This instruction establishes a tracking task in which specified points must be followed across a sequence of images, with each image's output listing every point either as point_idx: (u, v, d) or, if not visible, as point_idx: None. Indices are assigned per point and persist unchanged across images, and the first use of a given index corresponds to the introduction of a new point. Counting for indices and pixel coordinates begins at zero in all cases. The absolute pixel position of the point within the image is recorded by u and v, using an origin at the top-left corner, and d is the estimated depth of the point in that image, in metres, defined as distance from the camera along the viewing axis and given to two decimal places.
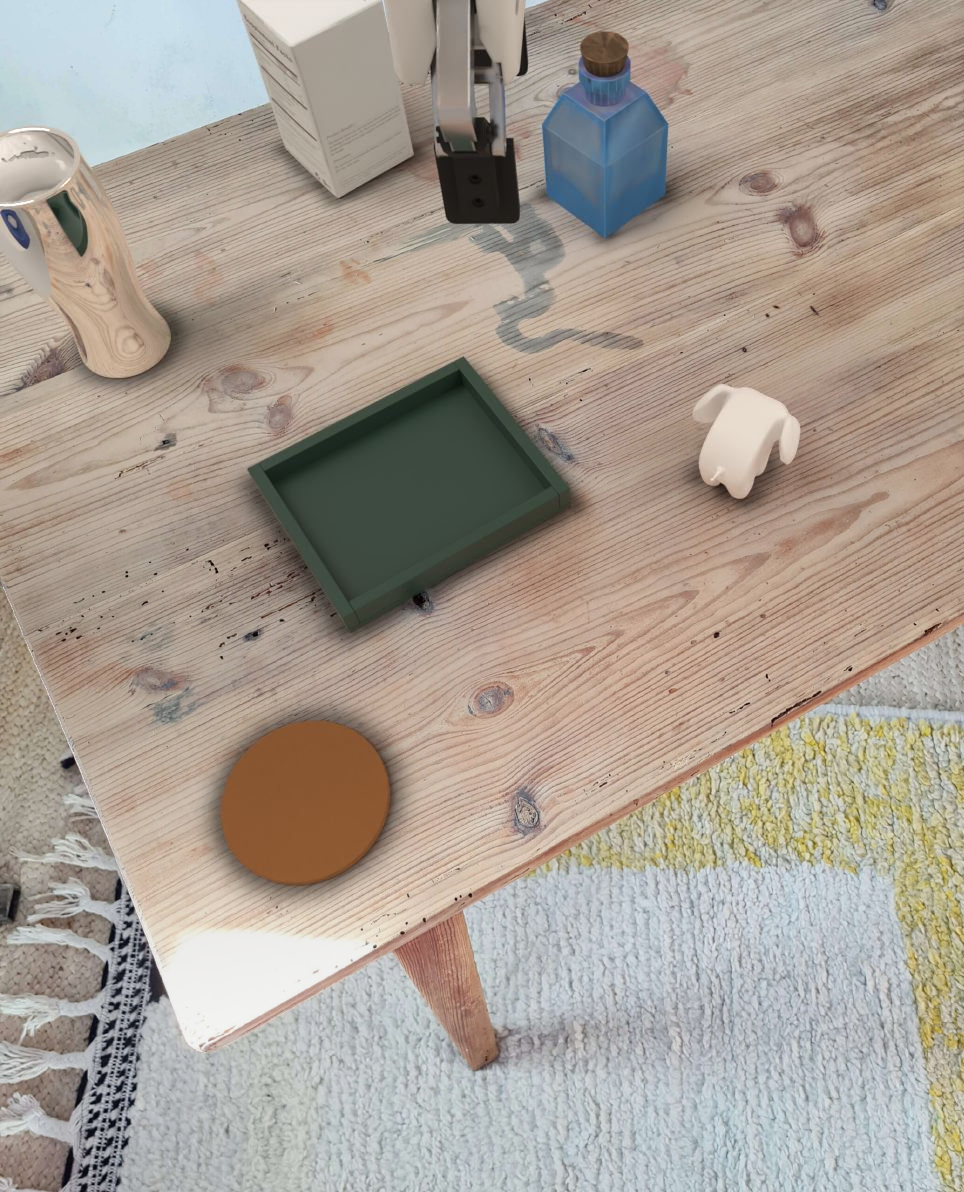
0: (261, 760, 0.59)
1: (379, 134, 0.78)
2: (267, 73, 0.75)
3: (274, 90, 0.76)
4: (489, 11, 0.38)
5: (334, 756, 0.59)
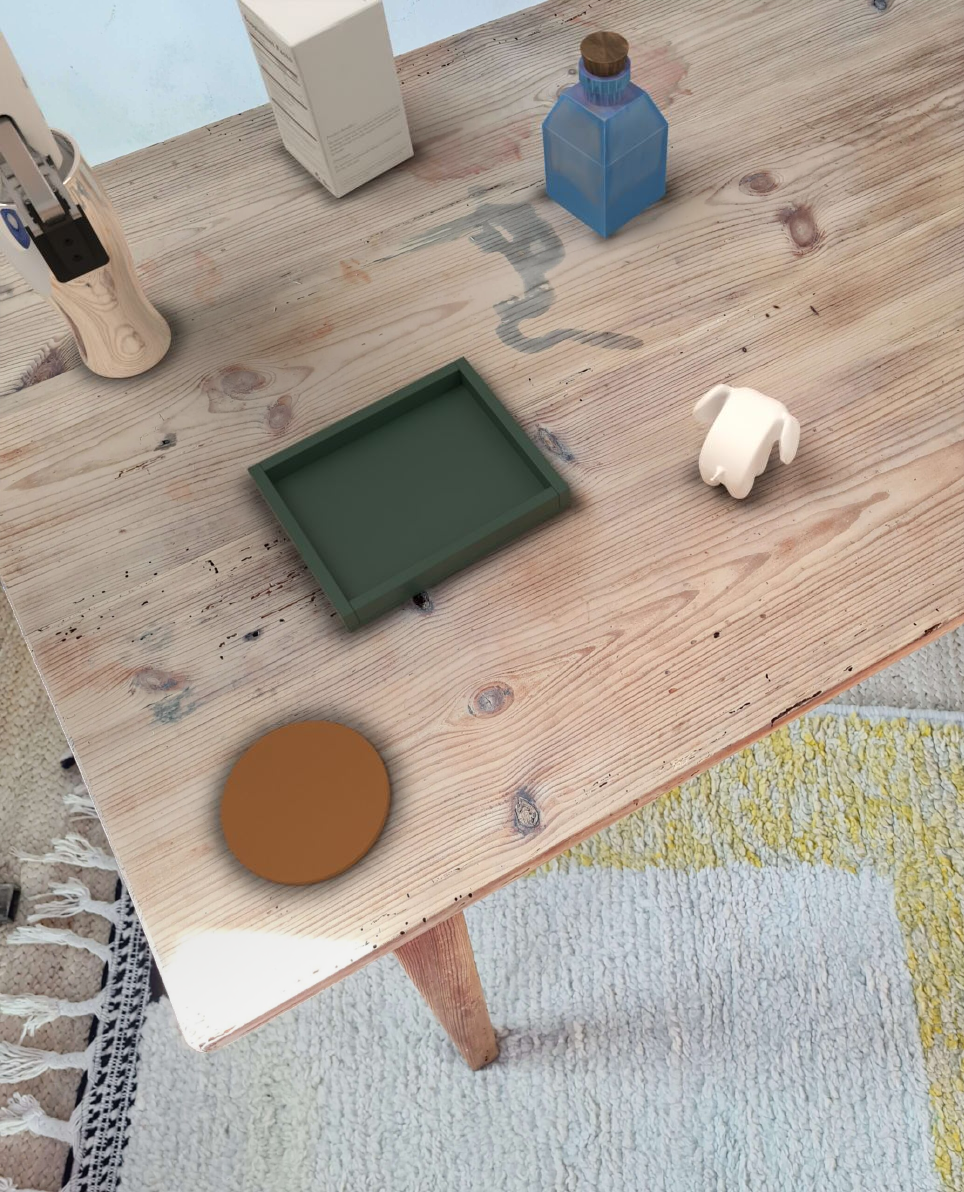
0: (261, 760, 0.59)
1: (379, 134, 0.78)
2: (267, 73, 0.75)
3: (274, 90, 0.76)
4: (26, 123, 0.54)
5: (334, 756, 0.59)
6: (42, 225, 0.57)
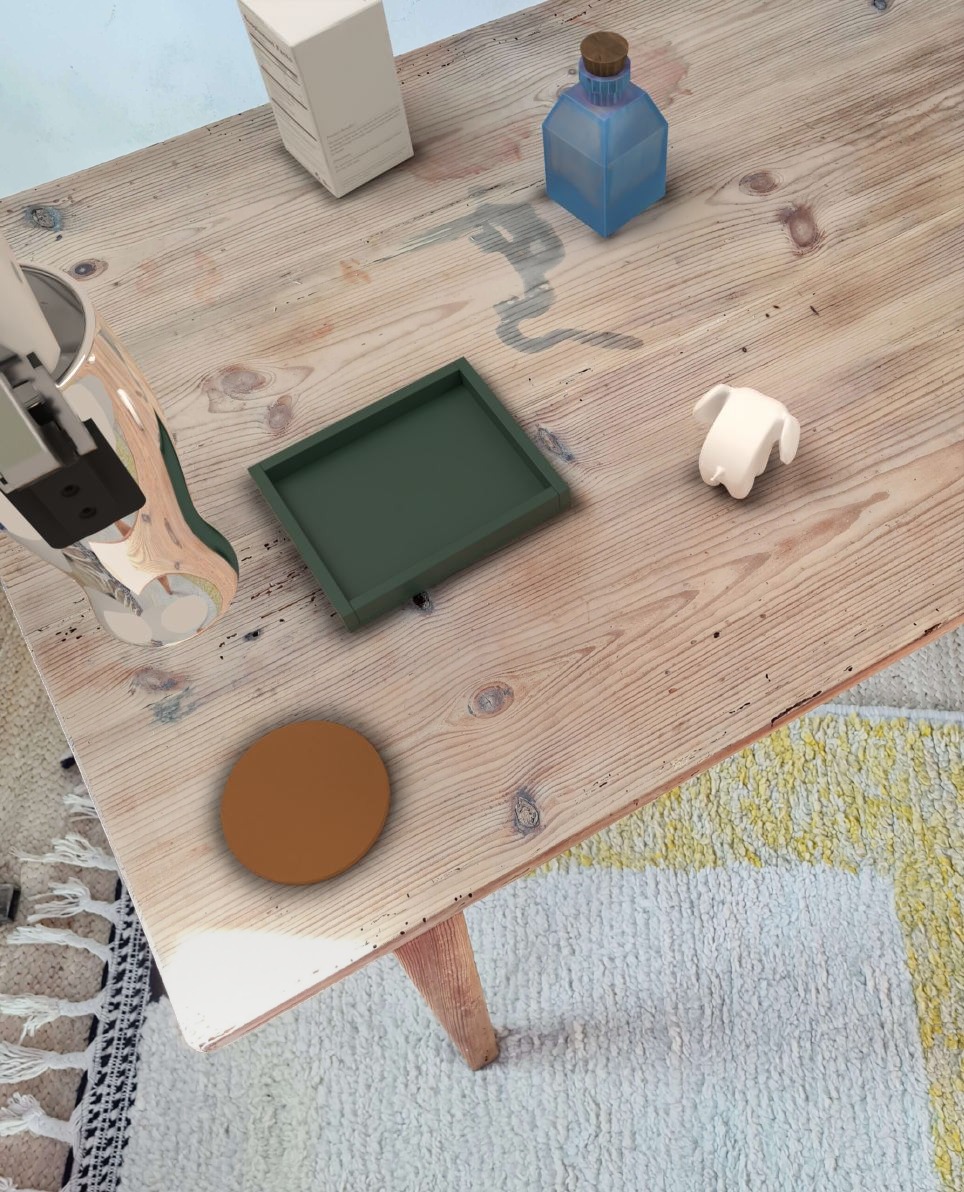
0: (261, 760, 0.59)
1: (379, 134, 0.78)
2: (267, 73, 0.75)
3: (274, 90, 0.76)
4: None
5: (334, 756, 0.59)
6: (20, 488, 0.28)
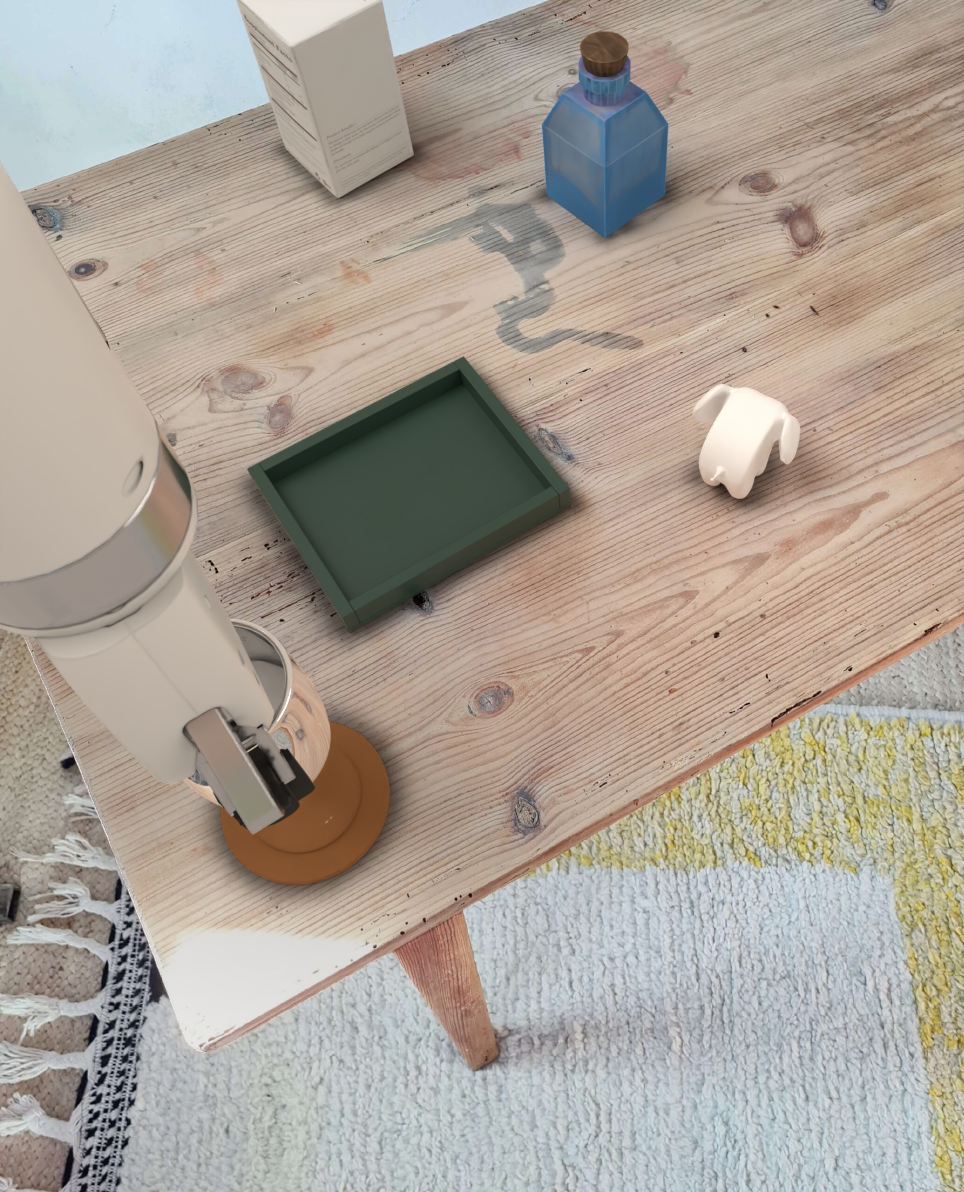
0: None
1: (379, 134, 0.78)
2: (267, 73, 0.75)
3: (274, 90, 0.76)
4: (239, 706, 0.37)
5: None
6: None
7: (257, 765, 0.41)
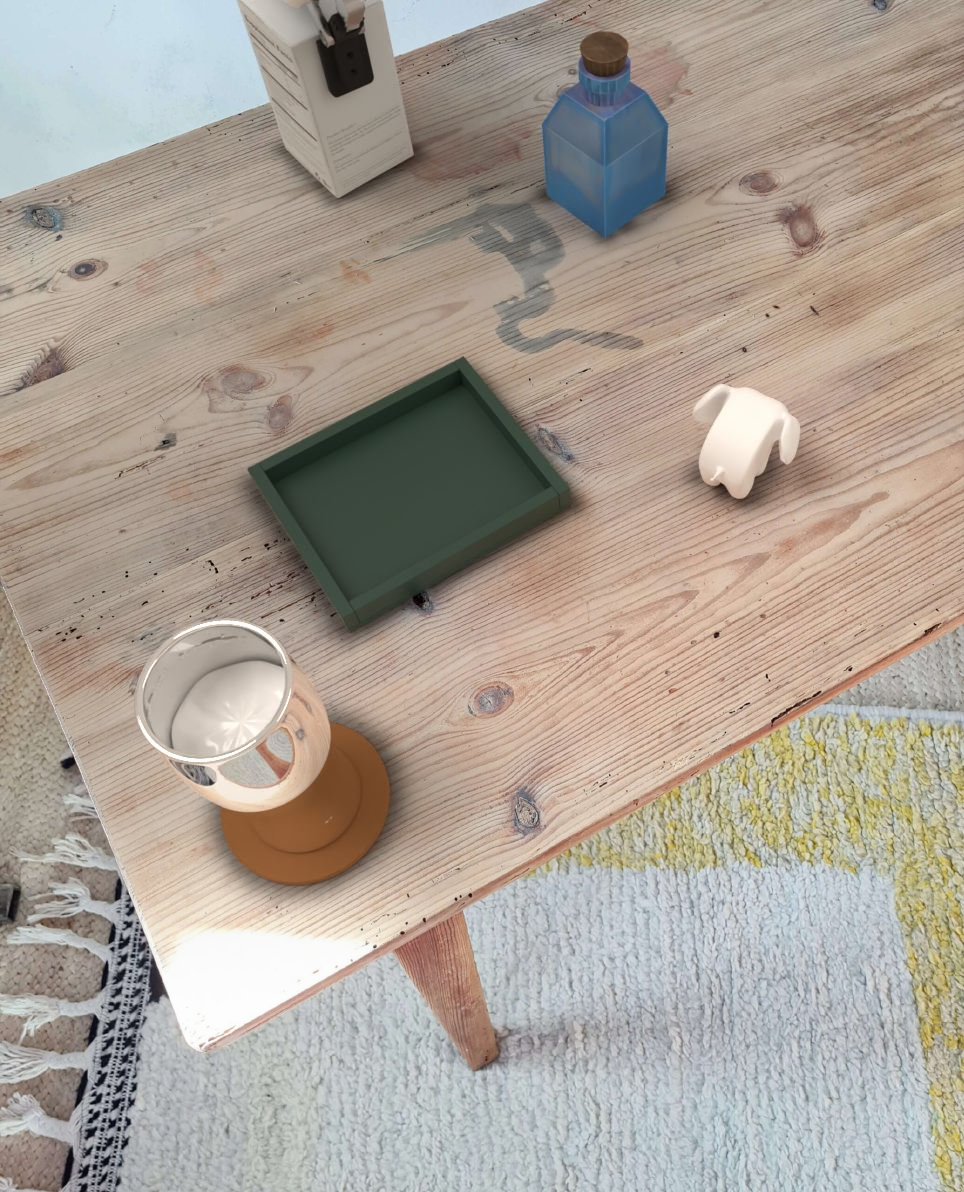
0: None
1: (379, 134, 0.78)
2: (267, 73, 0.75)
3: (274, 90, 0.76)
4: None
5: None
6: (342, 32, 0.67)
7: None
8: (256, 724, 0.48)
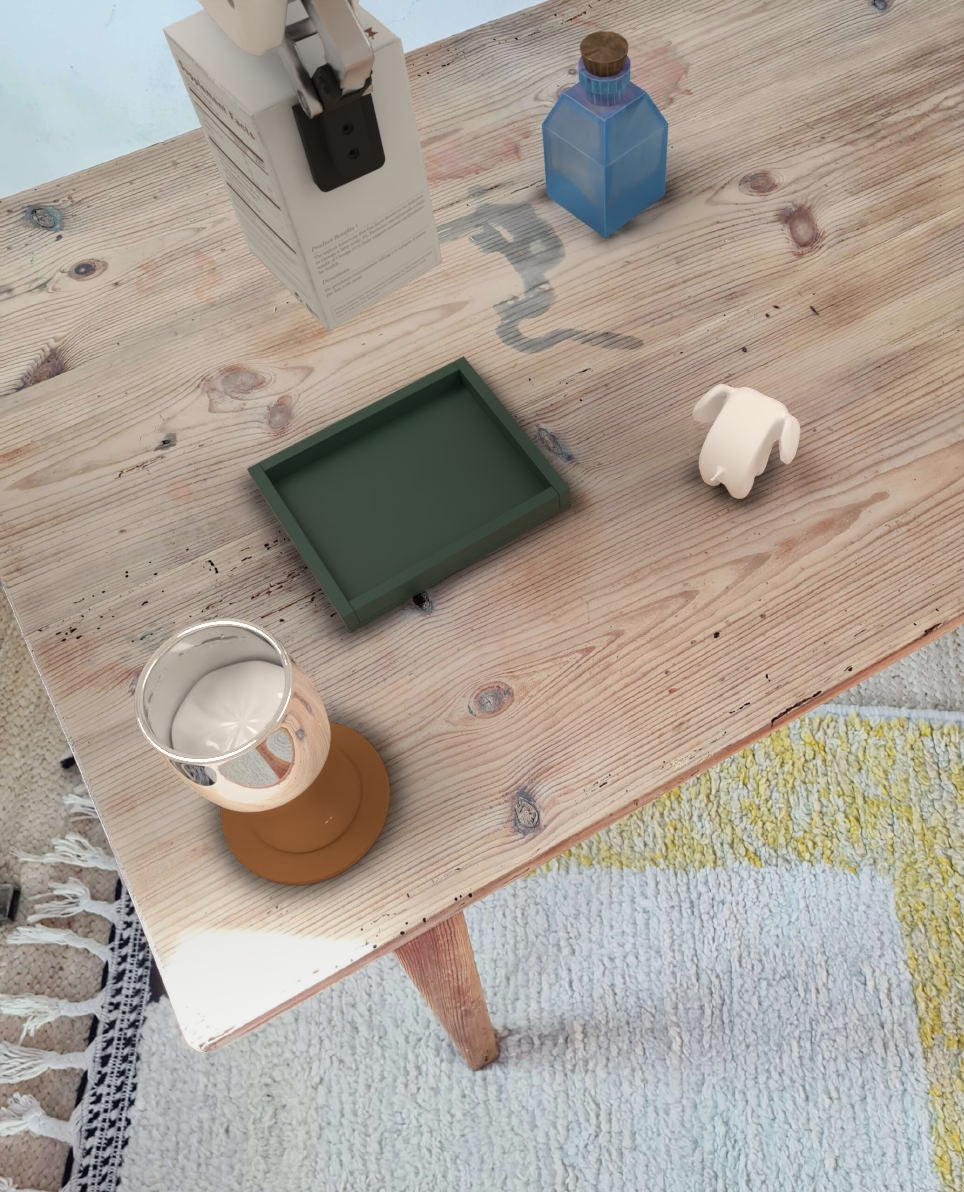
0: None
1: (392, 238, 0.51)
2: (218, 148, 0.48)
3: (230, 173, 0.49)
4: None
5: None
6: (336, 95, 0.40)
7: None
8: (256, 724, 0.48)
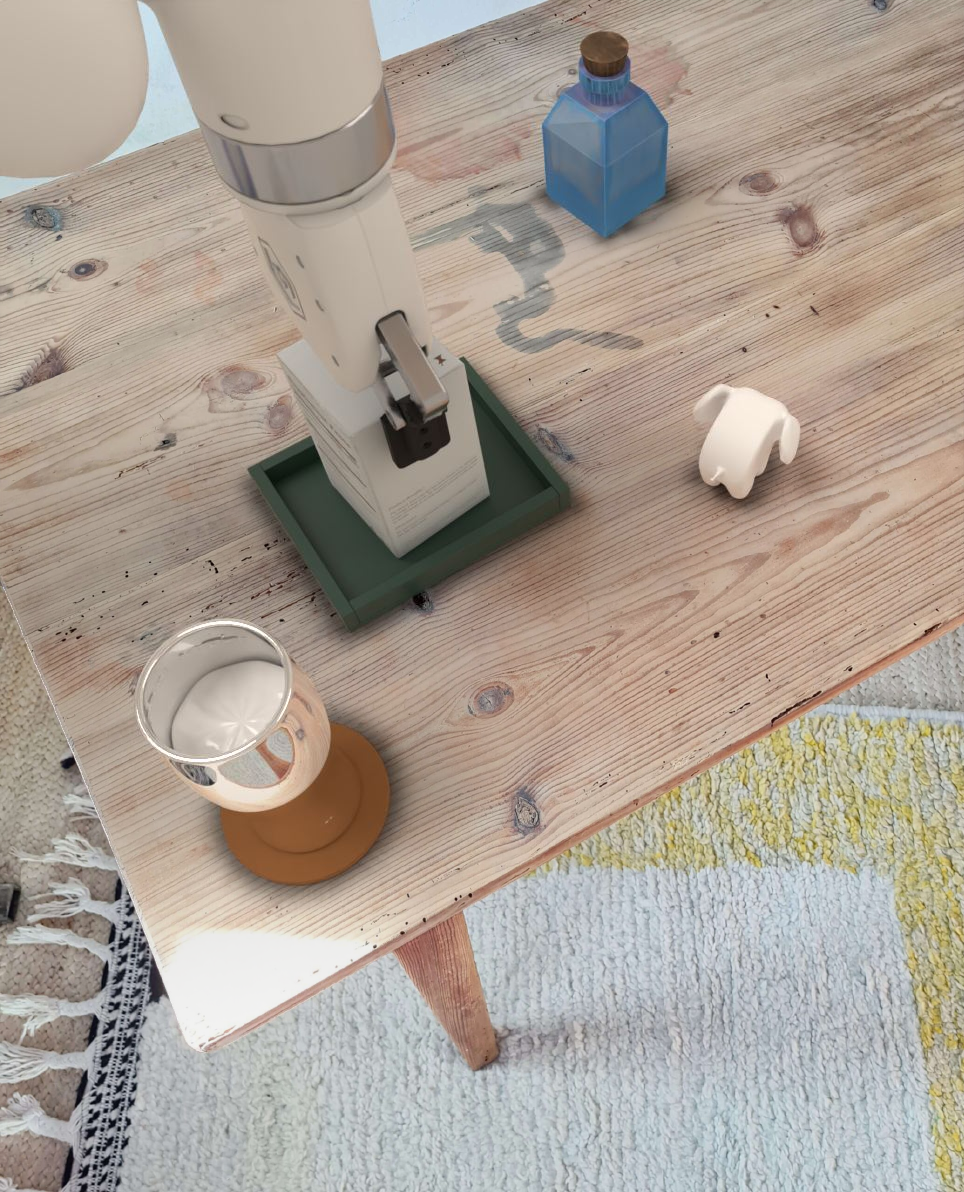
0: None
1: (451, 489, 0.63)
2: (314, 429, 0.60)
3: (322, 445, 0.61)
4: (415, 316, 0.48)
5: None
6: (419, 425, 0.50)
7: None
8: (256, 724, 0.48)
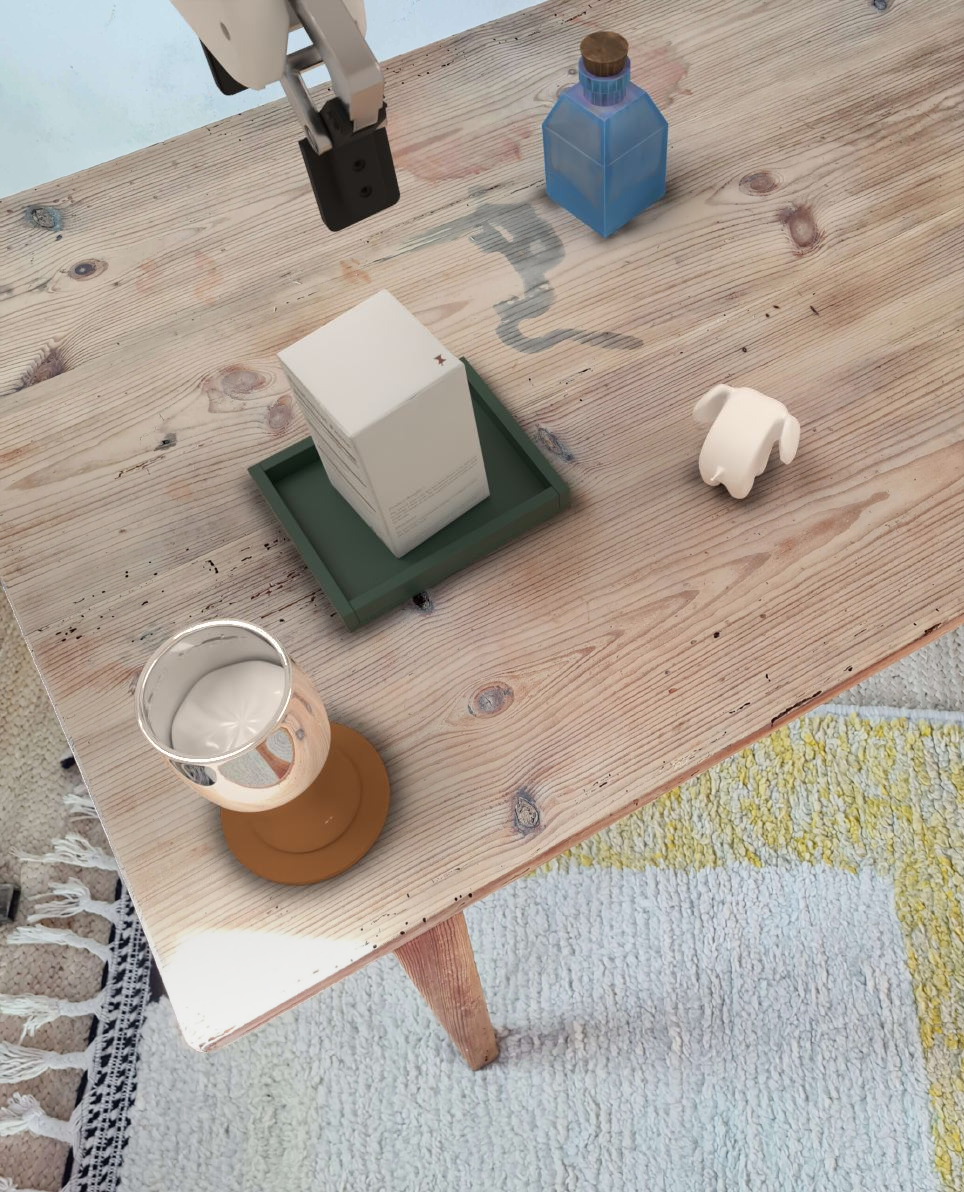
0: None
1: (451, 489, 0.63)
2: (314, 429, 0.60)
3: (322, 445, 0.61)
4: None
5: None
6: (346, 132, 0.36)
7: None
8: (256, 724, 0.48)
